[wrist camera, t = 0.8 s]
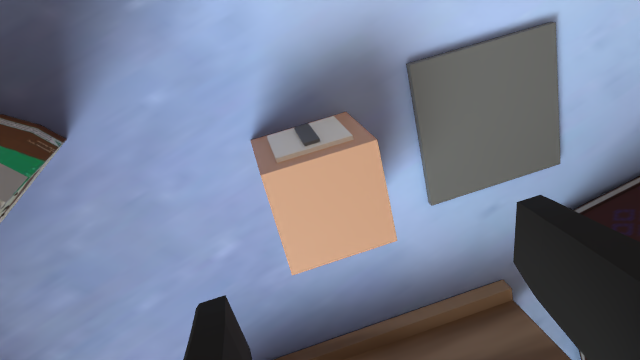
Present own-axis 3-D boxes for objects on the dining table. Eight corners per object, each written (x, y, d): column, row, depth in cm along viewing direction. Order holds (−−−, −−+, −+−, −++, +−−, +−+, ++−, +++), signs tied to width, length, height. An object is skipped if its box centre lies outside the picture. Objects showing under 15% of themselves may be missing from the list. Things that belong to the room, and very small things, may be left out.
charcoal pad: (555, 161, 28) (560, 163, 28) (428, 202, 28) (431, 205, 27) (550, 21, 25) (555, 22, 25) (406, 63, 24) (409, 65, 24)
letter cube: (364, 197, 27) (397, 240, 22) (277, 225, 26) (292, 275, 22) (344, 104, 24) (375, 131, 20) (248, 133, 24) (258, 167, 19)
